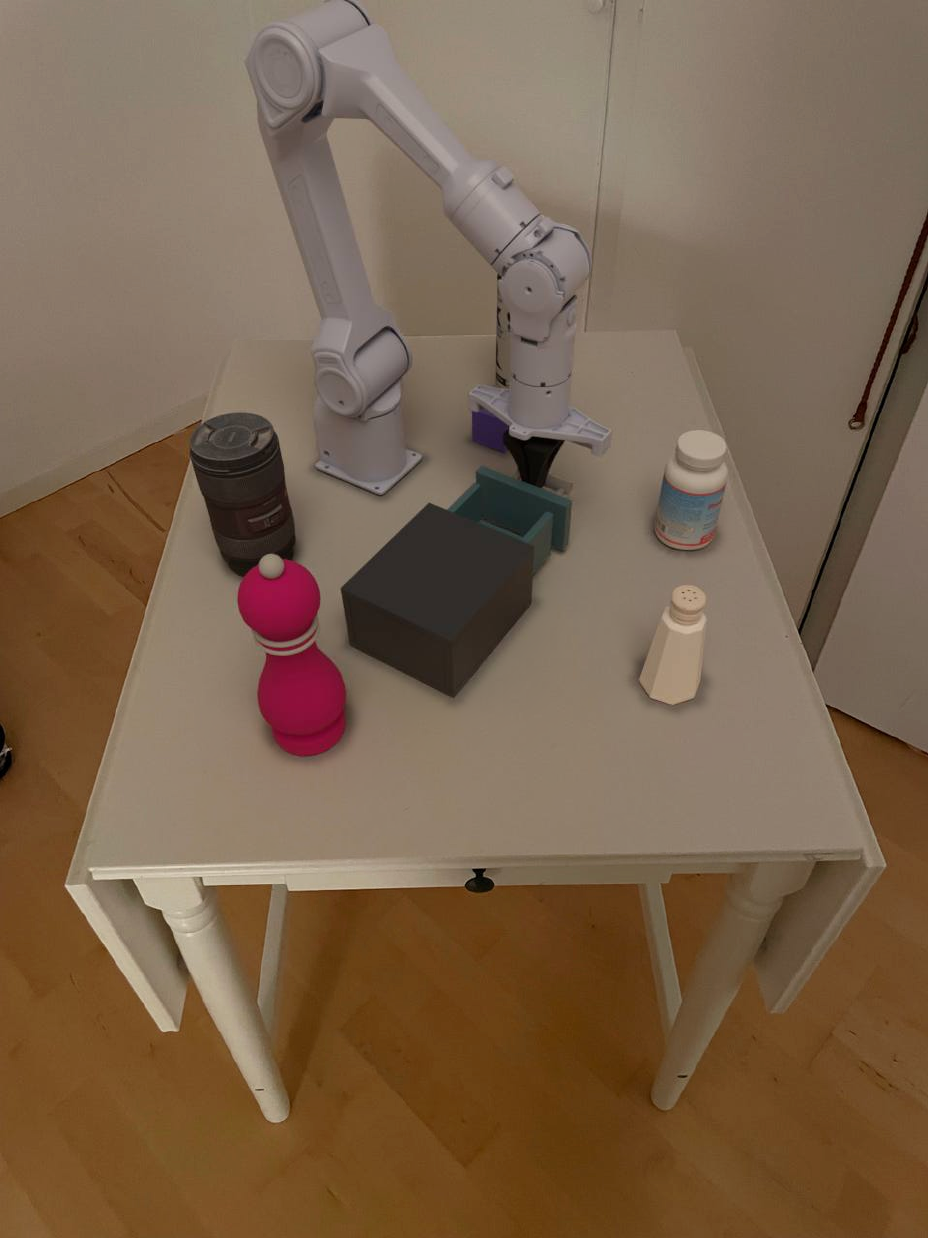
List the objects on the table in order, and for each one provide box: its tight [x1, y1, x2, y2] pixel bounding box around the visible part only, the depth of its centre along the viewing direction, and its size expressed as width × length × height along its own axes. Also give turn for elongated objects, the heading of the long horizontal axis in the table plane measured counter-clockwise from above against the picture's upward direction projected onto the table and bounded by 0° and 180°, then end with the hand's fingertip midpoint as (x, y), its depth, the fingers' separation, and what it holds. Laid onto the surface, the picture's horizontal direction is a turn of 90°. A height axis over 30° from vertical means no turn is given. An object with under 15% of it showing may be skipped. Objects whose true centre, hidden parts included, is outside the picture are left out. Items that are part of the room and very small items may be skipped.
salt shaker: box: [638, 584, 708, 706], centre depth 77 cm, size 5×5×11 cm
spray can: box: [494, 273, 511, 389], centre depth 105 cm, size 7×7×20 cm
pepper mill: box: [236, 554, 347, 757], centre depth 71 cm, size 7×7×20 cm
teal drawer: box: [446, 465, 574, 575], centre depth 90 cm, size 17×10×6 cm, turn 147°
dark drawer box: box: [340, 502, 534, 699], centre depth 84 cm, size 14×12×8 cm
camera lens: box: [189, 411, 296, 578], centre depth 88 cm, size 8×8×15 cm
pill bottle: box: [654, 429, 729, 551], centre depth 91 cm, size 6×6×11 cm
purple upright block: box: [471, 410, 509, 454], centre depth 105 cm, size 4×4×4 cm
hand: (534, 487), depth 93 cm, fingers closed
